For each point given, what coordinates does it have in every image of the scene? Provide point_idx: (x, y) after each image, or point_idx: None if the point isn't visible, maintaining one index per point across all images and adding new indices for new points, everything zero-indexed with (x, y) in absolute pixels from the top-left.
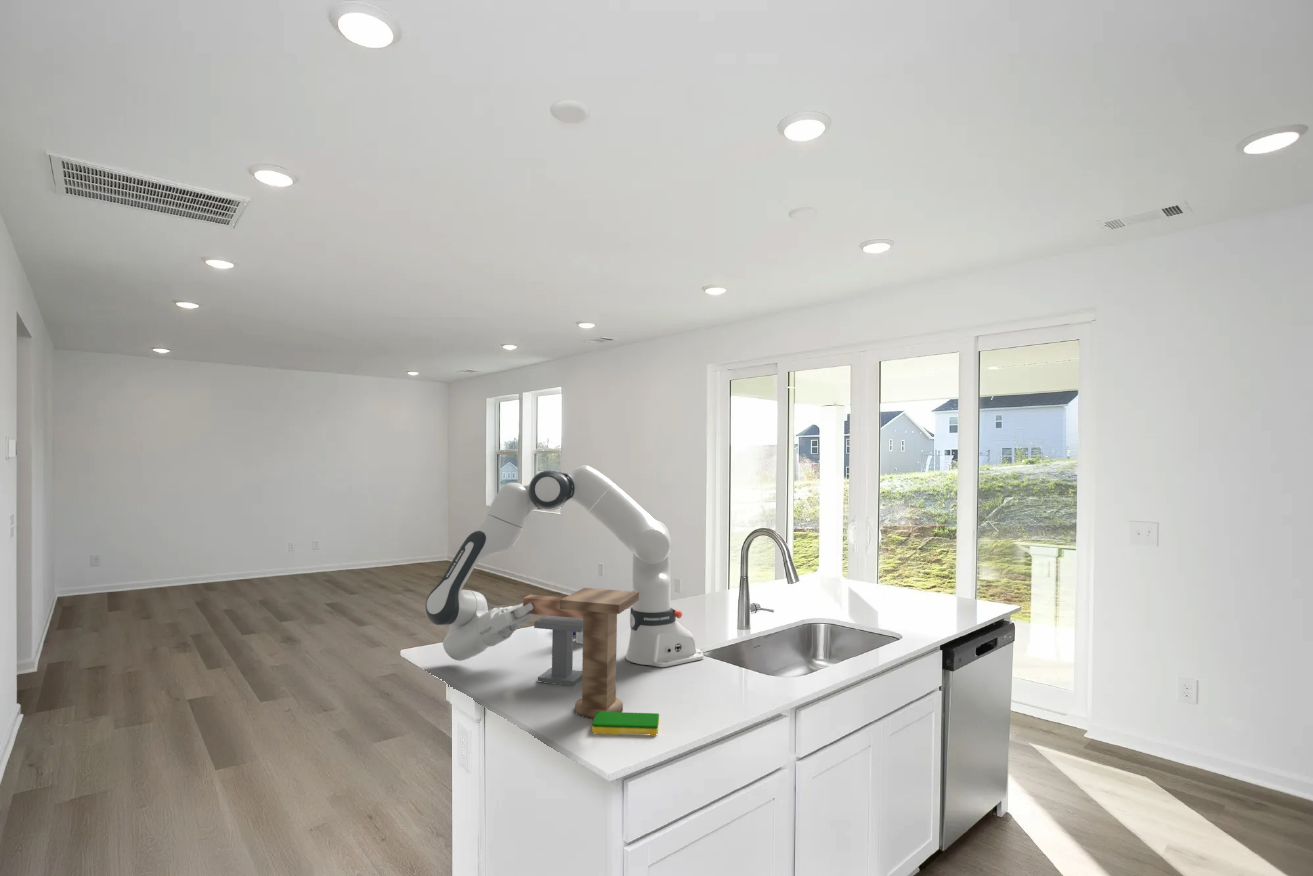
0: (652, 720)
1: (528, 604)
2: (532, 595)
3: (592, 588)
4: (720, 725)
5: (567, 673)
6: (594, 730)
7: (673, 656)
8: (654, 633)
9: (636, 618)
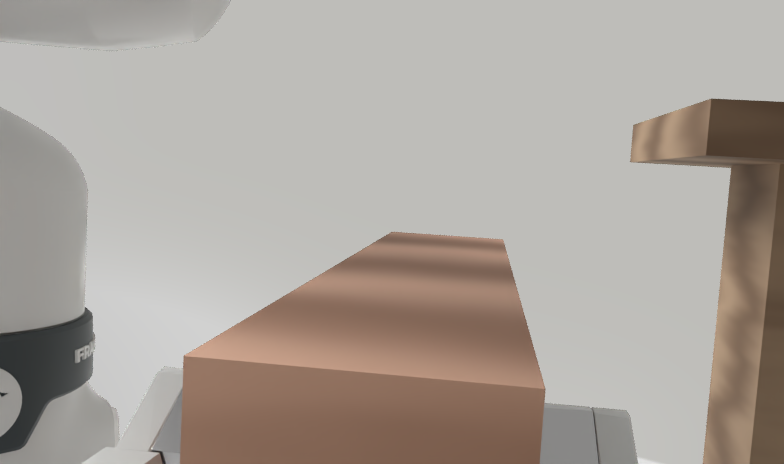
0: None
1: (632, 439)
2: (265, 340)
3: (695, 104)
4: (641, 458)
5: None
6: None
7: None
8: (102, 411)
9: (33, 373)
